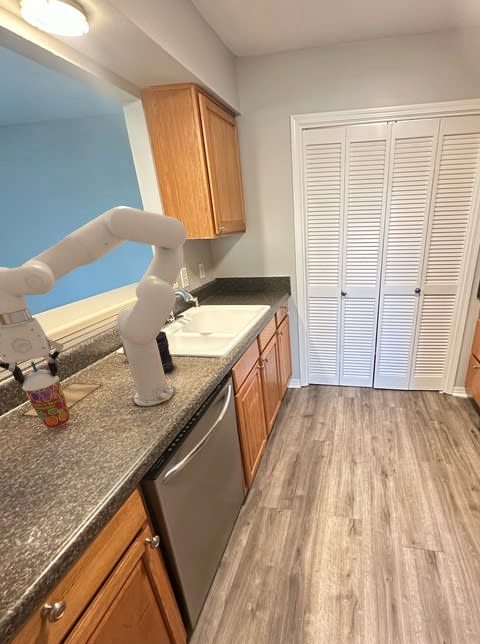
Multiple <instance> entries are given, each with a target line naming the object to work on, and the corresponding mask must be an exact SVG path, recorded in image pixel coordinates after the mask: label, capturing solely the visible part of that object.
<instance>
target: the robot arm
mask: <svg viewBox="0 0 480 644" xmlns="http://www.w3.org/2000/svg"><path fill="white" fill-rule="evenodd" d="M187 237H188V231H187V229H186V226H185V225H184V223H183V222H182V221H180V220H179V219H178V218H177V217H173V216H169V215H165V214H160V213H156V212H152V211H147V210H142V209H138V208H135V207H131V206H126V205H119V206H115V207H112V208H110V209H109V210H106V211H105V212H103V213H102V214H100V215H98V216H97V217H95V218H94V219H91V220H89V222H87V223H85V224H84V225H83V226H81V227H79V228H77V229H76V230H74V231H72V232H71V233H69V234H67V235H66V236H65V237H64V238H62V239H61V240H60V241H59V242H57V243H55V244H53V245H52V246H50V247H49V248H48V249H46V250H44V251H42V252H41V253H39V254H37V255H36V256H34V257H33V258H31V259H29V260H28V261H26V262H24V263H23V264H21V266H17V267H13V268H9V267H5V266H1V267H0V358H1V359H0V368H2V369H4V370H7V371H9V372H10V373H11V374H12V376H13V378H14V381H15V382H18V383H19V385H23V383H24V379H25V378H26V377H25V376H24V374H23V371H22V369H21V367H20V366H18V363H20V362H25V361H30V360H34V359H40V358H43V359H44V360H46V361H47V367H48V369H49V371H50V372H51V374H52V376H57V373H59V368H58V366H57V362H56V360H57V359H58V357H59V356H60V354H61V352H62V351H63V349H64V344H62V343H59V342H57V341H54V340H52V339H49V338H48V336H47V334H46V332H45V331H44V329H43V327H42V325H41V324H40V322H39V321H38V319H37V318H36V317H33V316H32V313H31V311H30V308H29V306H28V303H27V301H26V299H25V296H39V295H45V294H46V293H49V292H51V291H52V290H53V288H54V286H55V283H56V282H57V281H59V280H60V279H62V278H63V277H66V275H68V274H69V273H71V272H73V271H74V270H76V269H79V268H81V267H84V266H87V265H91V264H93V263H95V262H97V261H100V260H101V259H102V258H104V257H105V256H107V255H108V254H110V253H111V252H113V251H114V250H115V249H117V248H118V247H120V246H122V245H123V244H125V243H127V242H128V241H129V242H134V243H137V244H143V245H150V246H154V254H153V257H152V259H151V262H150V263H149V265H148V267H147V269H146V271H145V272H144V274H143V276H142V277H141V279H140V280H139V282H138V284H137V285H136V288H135V296H136V298H137V301H136V303H134V305H129V306H125V307H124V308H122V309H121V310H120V311H119V312H118V314H117V316H116V327H117V330H118V333H119V337H120V339H122V340H121V343H122V342H123V345H124V348H125V352H126V355H127V357H126V359H127V362H128V365H129V369H130V373H131V376H132V380H133V383H134V386H135V389H136V394H134V397H133V401H134V403H135V405H138V406H141V407H150V406H155V405H158V404H161V403H164V402H166V401H169V400H170V399H171V397H173V395H174V388H173V387H172V386H171V385H170V384H168V383H167V379H166V374H164V370H163V366H162V362H161V358H160V354H159V349H158V345H157V341H156V337H157V336H158V334H159V333H160V331H162V329H163V328H164V326H165V324H166V322H167V320H168V319H169V317H170V315H171V314H172V312H173V310H174V308H175V306H176V303H177V302H176V301H177V294H176V291H175V289H174V287H173V286H174V284H175V283H176V280H177V279H178V276H179V274H180V273H181V270H182V269H183V266H184V260H185V259H184V248H183V245H184V244H185V243H186V241H187ZM52 348H54V349H55V350H54V351H53V352H52V353H51V349H52Z"/></svg>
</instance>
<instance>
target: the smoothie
mask: <svg viewBox="0 0 480 644" xmlns="http://www.w3.org/2000/svg"><path fill="white" fill-rule="evenodd" d="M30 364H31V367H32V369H33V370H32V371H31V372H29V373H28V374H27V375H26V376H25V377H24V378H25V379H24V383H23V384H22V387H21V388H22V390H23V391H24V394H25V395H26V396H27V398H28V401H29V402H30V404H31V405H32V407H33V408H34V409H35V411H36V413H37V414H38V416H37V417H38V418H39V420H40V422H41V423H42V425H43V426H45V427H46V428H48V429H54V428H58V427H61V426H63V425H65V424H67V423H68V422H69V420H70V416H71V413H70V409H69V408H68V406H67V403H66V400H65V397H64V393H63V390H64V389H63V388H62V384H61V381H60V377H59V376H58V375H56V376H52V374H51V371H50V370H48V369H37V367H36V363H35V362H34V361H31V362H30Z"/></svg>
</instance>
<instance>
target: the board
mask: <svg viewBox="0 0 480 644" xmlns="http://www.w3.org/2000/svg"><path fill="white" fill-rule="evenodd" d="M99 387H101V384H83V383H81V384H80V383H71V384H70V385H68V386H67V387H65V388H63V389H62V390H63V393H64V397H65V400H66V403H67V406H68V409H69V408H71V407H72V406H74V405H75V404H77V403H78V402H80V401H81V400H82V399H83V398H85V397H86V396H88V395H89V394H91V393H92V392H94V391H95V390H96V389H98V388H99ZM23 416H32V417H33V416H34V417H39V416H38V414H37V413H36V411H35V409H34V407H33V408H31V409H30V410H28V411H27V412H25V413H23Z"/></svg>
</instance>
